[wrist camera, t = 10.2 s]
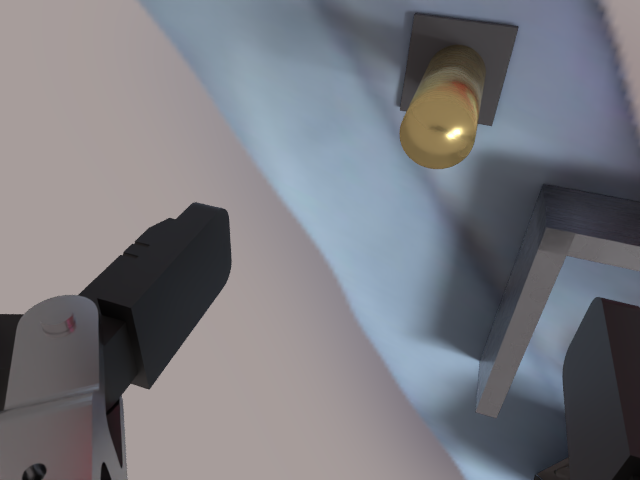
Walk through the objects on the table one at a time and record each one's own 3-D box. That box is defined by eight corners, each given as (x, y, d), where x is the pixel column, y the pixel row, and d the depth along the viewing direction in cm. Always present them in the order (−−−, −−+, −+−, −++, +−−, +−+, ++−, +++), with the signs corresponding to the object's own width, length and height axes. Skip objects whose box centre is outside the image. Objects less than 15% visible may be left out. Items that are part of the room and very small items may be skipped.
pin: (492, 49, 22) (483, 106, 17) (478, 106, 24) (466, 175, 19) (432, 40, 23) (405, 93, 18) (422, 97, 24) (394, 161, 19)
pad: (518, 26, 22) (518, 28, 22) (492, 123, 24) (491, 126, 24) (415, 13, 23) (414, 14, 23) (400, 108, 25) (399, 110, 25)
